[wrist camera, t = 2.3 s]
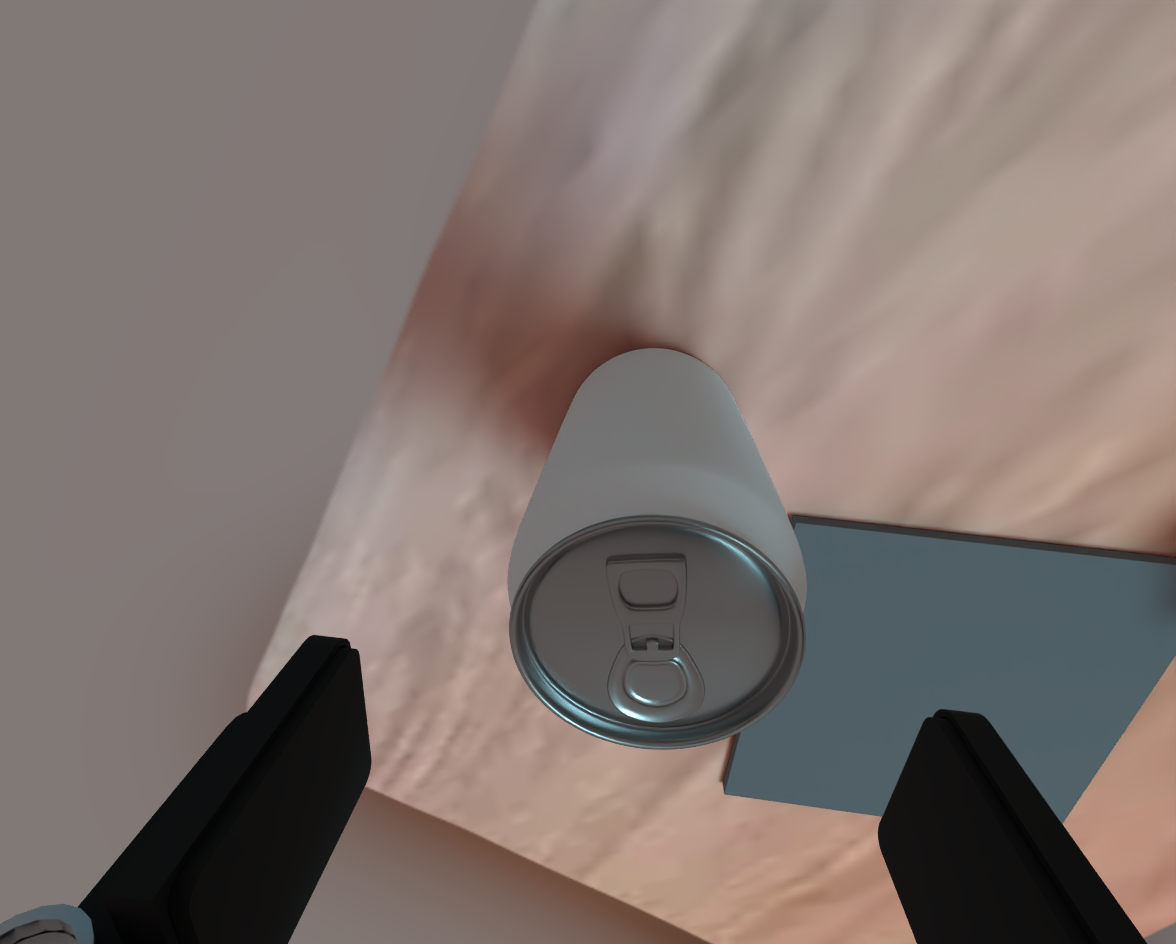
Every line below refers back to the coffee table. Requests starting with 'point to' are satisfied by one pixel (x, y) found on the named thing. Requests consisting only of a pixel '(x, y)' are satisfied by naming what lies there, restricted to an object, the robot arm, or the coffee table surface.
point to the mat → (957, 660)
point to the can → (656, 563)
